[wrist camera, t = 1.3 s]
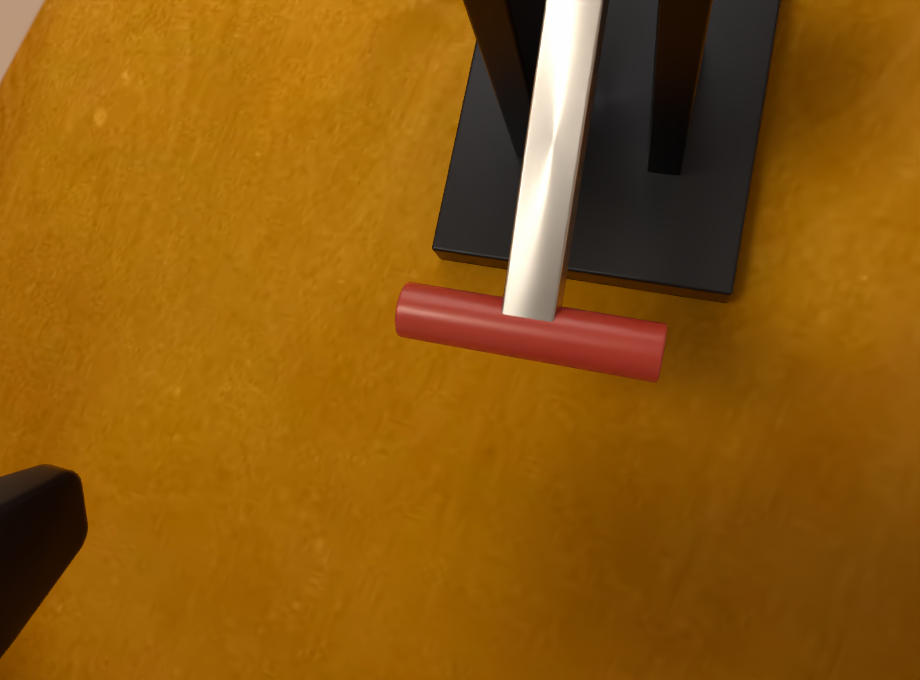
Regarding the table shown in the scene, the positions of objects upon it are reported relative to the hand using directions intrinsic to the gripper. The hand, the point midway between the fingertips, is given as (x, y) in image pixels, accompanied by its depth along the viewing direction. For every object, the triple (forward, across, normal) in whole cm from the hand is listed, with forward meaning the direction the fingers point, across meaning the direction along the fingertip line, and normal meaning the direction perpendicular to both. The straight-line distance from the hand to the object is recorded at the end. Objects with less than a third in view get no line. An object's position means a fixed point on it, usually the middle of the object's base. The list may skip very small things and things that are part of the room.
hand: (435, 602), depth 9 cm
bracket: (+20, +1, -2) cm, 21 cm away
